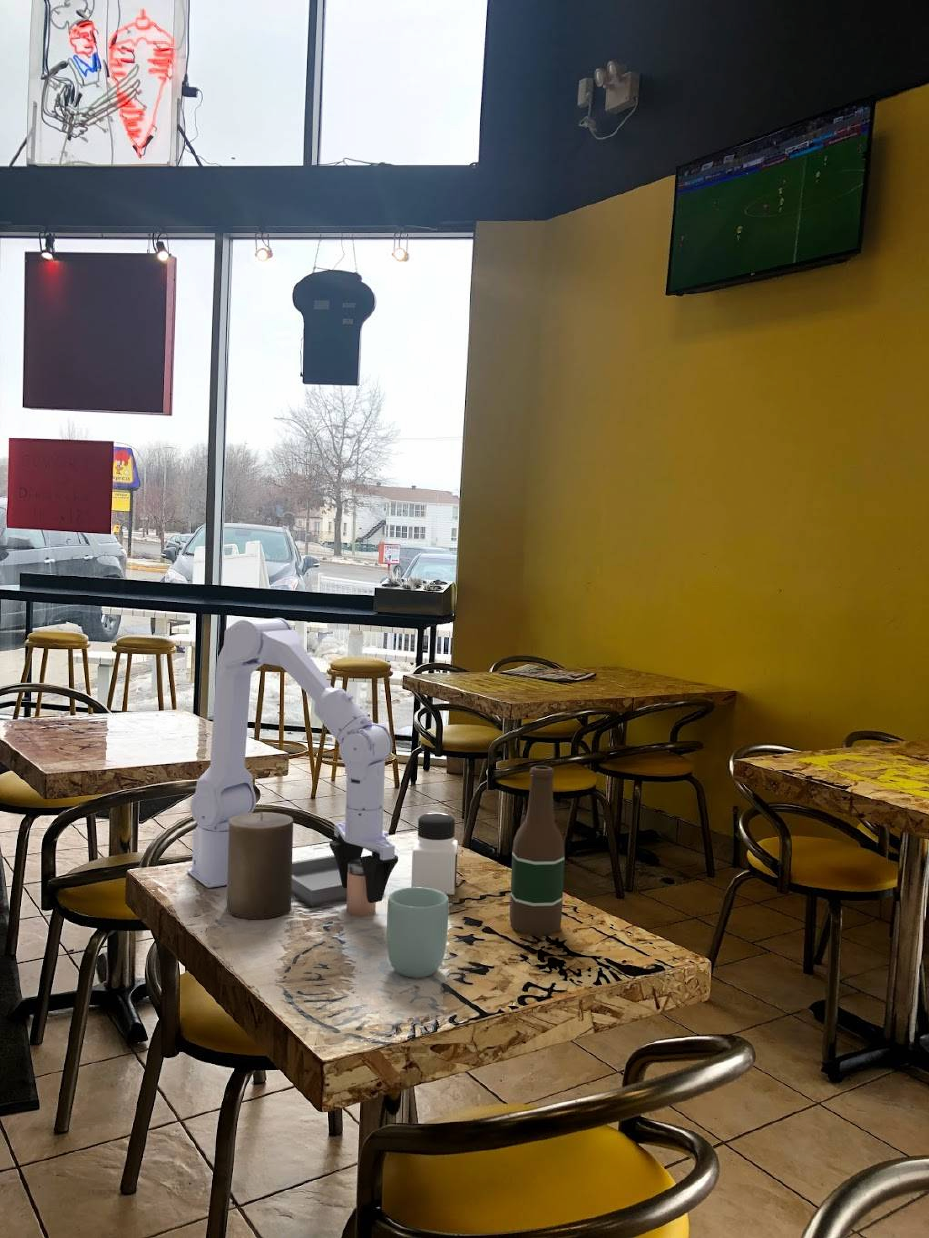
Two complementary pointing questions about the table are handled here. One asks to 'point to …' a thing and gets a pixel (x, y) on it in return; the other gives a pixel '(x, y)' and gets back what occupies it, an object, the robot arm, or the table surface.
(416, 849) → the medicine bottle
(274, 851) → the pillar candle
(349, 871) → the salt shaker
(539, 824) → the beer bottle
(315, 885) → the tray
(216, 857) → the robot arm
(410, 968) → the cup
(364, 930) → the table surface
